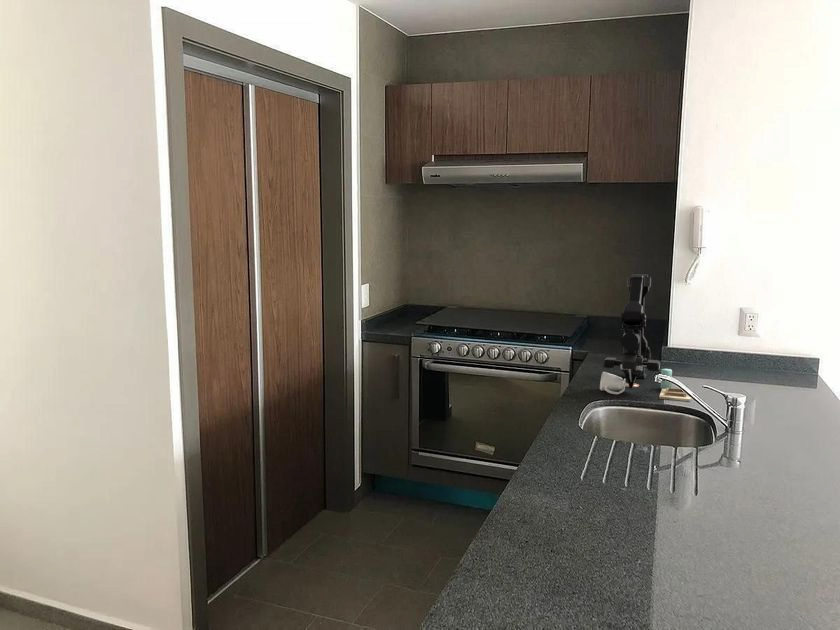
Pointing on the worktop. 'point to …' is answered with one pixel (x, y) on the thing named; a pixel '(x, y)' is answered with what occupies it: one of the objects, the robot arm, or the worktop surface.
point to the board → (674, 394)
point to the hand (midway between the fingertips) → (631, 387)
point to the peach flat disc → (633, 385)
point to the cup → (612, 383)
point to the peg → (664, 383)
